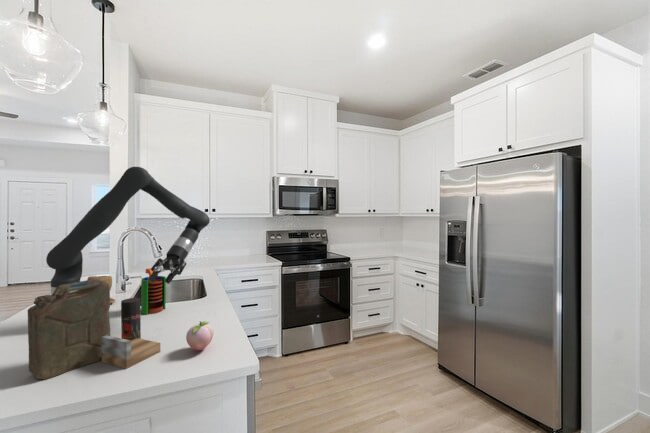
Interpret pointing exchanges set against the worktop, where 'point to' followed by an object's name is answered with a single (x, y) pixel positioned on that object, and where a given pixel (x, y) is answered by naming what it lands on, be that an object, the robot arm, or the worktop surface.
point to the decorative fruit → (199, 335)
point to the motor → (153, 294)
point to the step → (127, 351)
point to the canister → (68, 327)
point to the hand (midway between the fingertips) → (158, 281)
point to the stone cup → (106, 279)
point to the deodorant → (130, 319)
